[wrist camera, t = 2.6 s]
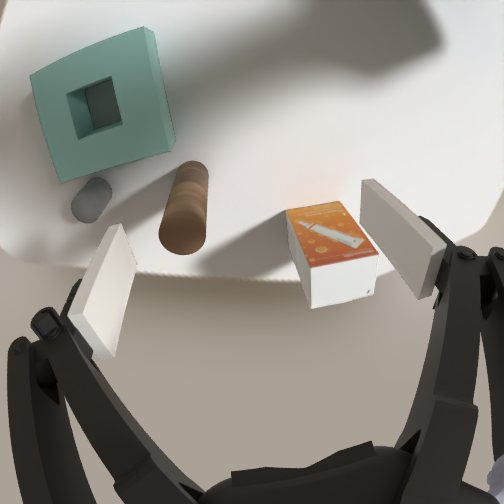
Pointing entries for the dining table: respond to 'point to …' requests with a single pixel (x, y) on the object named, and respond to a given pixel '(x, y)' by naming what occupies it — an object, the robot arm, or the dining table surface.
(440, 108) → the dining table surface
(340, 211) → the small box
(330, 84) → the dining table surface
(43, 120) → the hole block
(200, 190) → the walnut dowel
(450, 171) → the dining table surface
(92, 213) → the charcoal dowel
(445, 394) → the robot arm
